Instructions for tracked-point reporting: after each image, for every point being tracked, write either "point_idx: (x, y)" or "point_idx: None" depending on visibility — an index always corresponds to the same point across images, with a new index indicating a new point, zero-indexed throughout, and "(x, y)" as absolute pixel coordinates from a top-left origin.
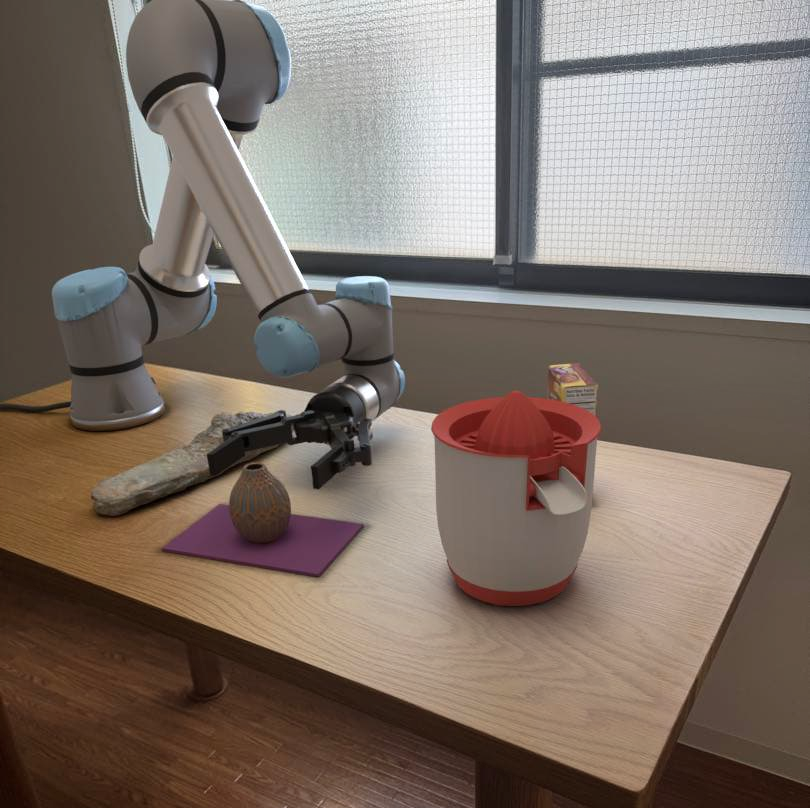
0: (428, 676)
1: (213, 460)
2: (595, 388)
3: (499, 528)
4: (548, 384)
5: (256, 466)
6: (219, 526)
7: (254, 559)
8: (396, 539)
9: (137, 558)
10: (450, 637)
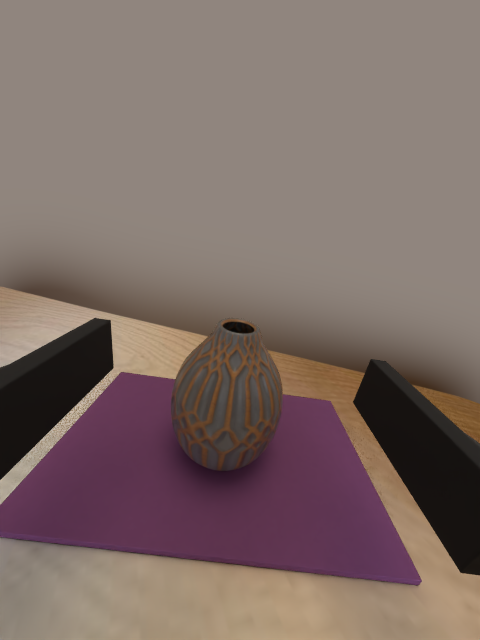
0: (48, 309)
1: (366, 372)
2: None
3: None
4: None
5: (246, 346)
6: (313, 459)
7: None
8: None
9: (338, 392)
10: (6, 325)
